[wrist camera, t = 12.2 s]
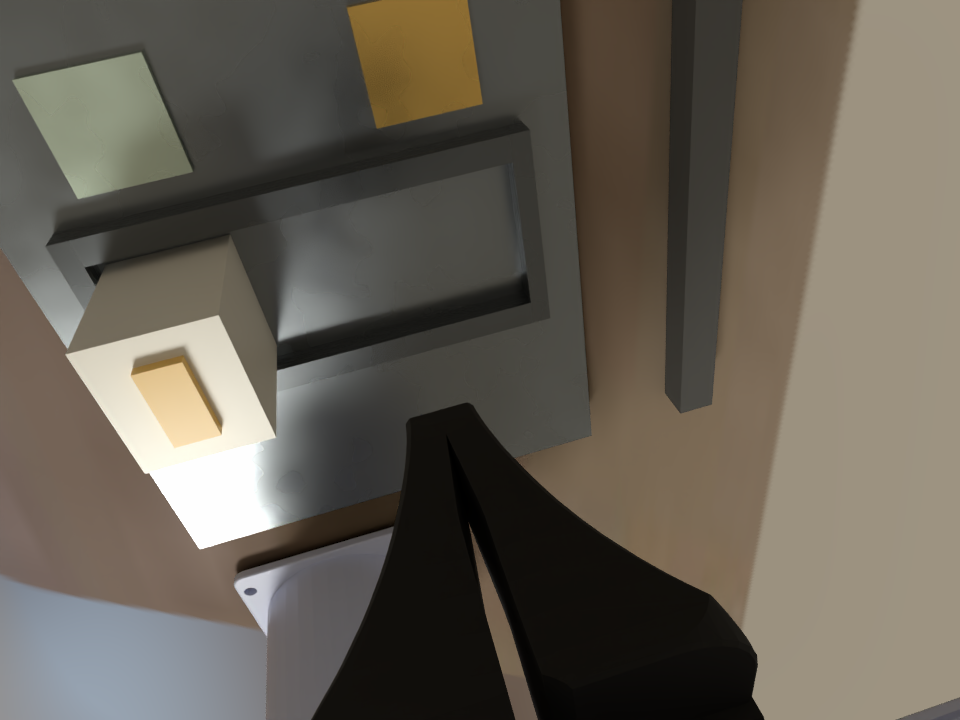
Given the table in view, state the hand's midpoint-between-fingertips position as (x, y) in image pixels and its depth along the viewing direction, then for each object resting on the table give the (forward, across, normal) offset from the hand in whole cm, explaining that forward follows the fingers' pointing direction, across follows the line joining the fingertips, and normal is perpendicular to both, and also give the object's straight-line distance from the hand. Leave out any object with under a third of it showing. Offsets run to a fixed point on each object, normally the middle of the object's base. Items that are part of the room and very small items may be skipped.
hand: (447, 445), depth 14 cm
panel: (+10, +2, 0) cm, 10 cm away
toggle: (+9, +6, 0) cm, 11 cm away
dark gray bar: (+10, -10, +2) cm, 15 cm away
